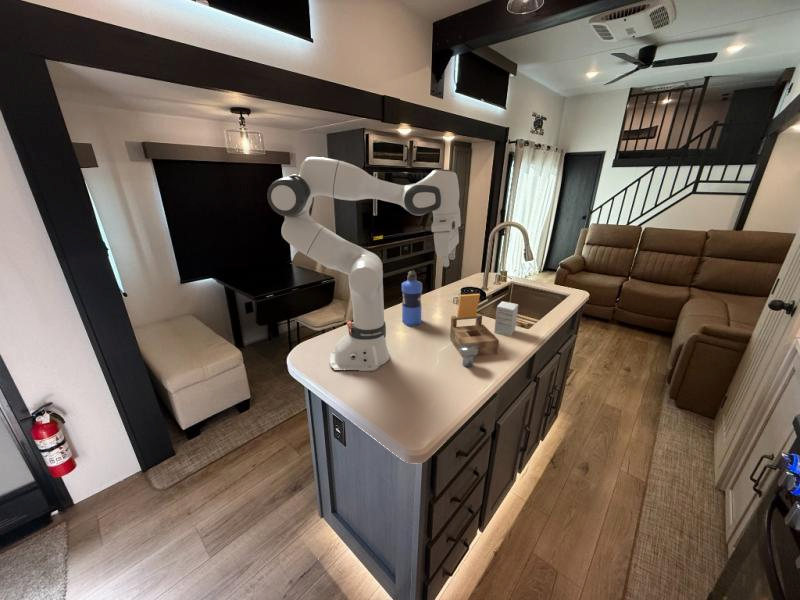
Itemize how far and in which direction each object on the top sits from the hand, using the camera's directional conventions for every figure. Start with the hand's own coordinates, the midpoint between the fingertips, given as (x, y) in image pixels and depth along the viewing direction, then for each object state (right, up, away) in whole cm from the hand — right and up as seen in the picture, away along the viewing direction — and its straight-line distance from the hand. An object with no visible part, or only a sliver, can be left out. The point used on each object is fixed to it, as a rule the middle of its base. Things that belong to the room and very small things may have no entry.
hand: (449, 262), depth 106 cm
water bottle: (-12, -23, +40) cm, 48 cm away
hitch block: (+12, -31, +18) cm, 38 cm away
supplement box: (+29, -27, +30) cm, 50 cm away
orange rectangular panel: (+11, -16, +19) cm, 27 cm away
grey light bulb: (+7, -36, +5) cm, 38 cm away
